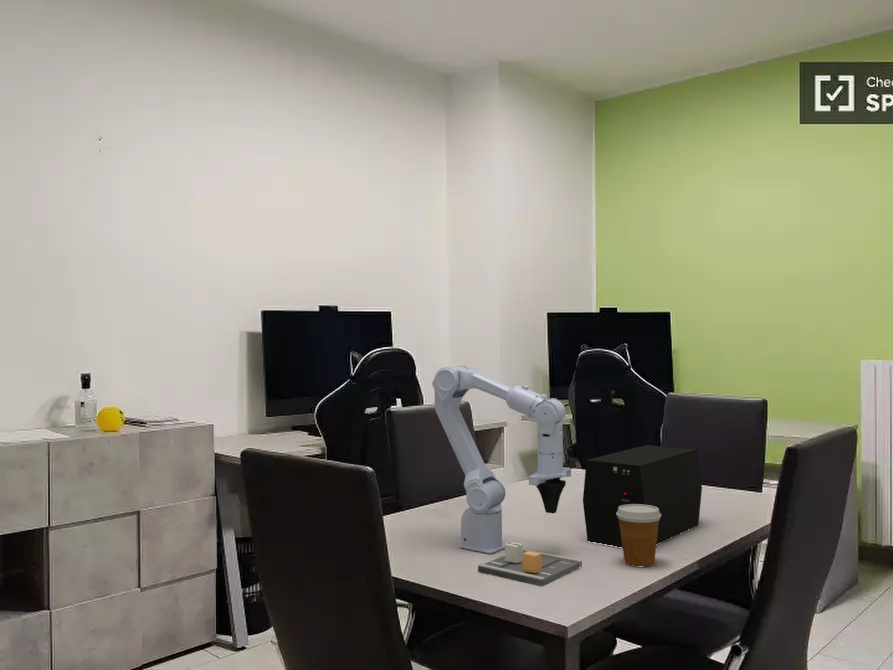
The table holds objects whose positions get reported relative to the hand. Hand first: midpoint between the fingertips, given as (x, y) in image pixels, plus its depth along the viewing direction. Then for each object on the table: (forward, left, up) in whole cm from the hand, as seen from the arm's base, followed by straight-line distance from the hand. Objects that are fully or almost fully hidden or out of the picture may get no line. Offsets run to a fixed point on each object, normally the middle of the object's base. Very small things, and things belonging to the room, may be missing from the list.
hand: (550, 512), depth 175 cm
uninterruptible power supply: (+8, +30, -10) cm, 33 cm away
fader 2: (+5, -16, -8) cm, 19 cm away
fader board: (+2, -11, -10) cm, 15 cm away
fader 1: (-2, -12, -8) cm, 15 cm away
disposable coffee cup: (+18, +7, -10) cm, 22 cm away
